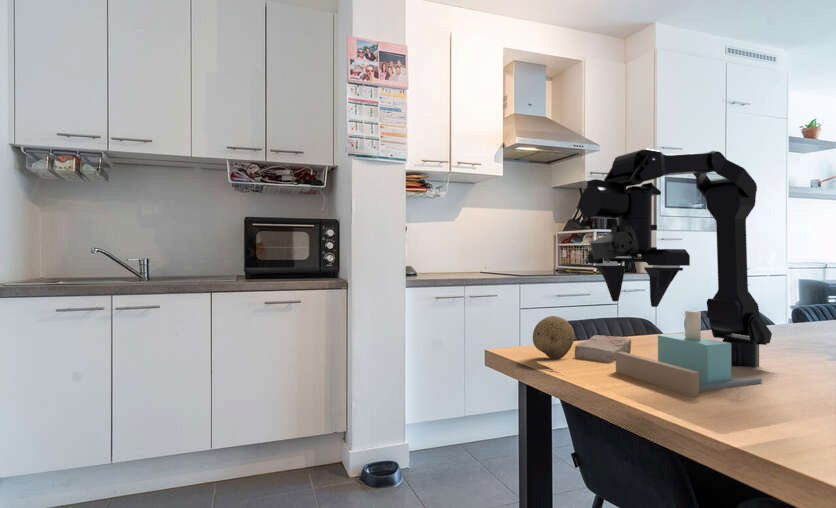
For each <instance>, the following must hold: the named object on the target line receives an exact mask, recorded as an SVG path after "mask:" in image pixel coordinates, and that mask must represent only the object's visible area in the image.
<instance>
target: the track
mask: <svg viewBox="0 0 836 508" xmlns="http://www.w3.org/2000/svg"><path fill="white" fill-rule="evenodd" d="M615 372H616V373H618V374H622V375H624V376H627V377H631V378H634V379H637V380H640V381H643V382H646V383H648V384H649V383H650V384H652V385H655V386H658V387H661V388H663V389H668V390H670V391H673V392H676V393H680V394H683V395H685V396H688V397H693V398H694V397H699V396H700V392H704V391H712V390H713V391H714V390H720V389H728V388H734V387H735V388H736V387H742V386H750V385H757V384H762V382H763V381H762V380H763V379H762V378H759V377H749V378H747V377H746V378H739V379H731V381H723V382H715V383H707V384H699V372H697V371H693V370H689V369H686V368H682V367H678V366H674V365H671V364H667V363H663V362H659V361H658V360H655V359H652V358H647V357H645V356H640V355H638V354H637V355H636V354H632V353H626V352H616V360H615Z"/></svg>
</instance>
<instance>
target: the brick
mask: <svg viewBox="0 0 836 508" xmlns="http://www.w3.org/2000/svg"><path fill="white" fill-rule="evenodd" d="M631 348H632V339H631V338H628V337H623V336H612V335H609V336H608V335H598V334H595V335H592V336H591V337H590V338H588V339H587V340H585V341H581V342H579V343H578V344H575V348H574V359H585V360H591V361H598V362H605V363H614V362H616V352H626V353H629V354H631V350H632V349H631Z"/></svg>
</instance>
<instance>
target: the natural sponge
mask: <svg viewBox="0 0 836 508" xmlns="http://www.w3.org/2000/svg"><path fill="white" fill-rule="evenodd" d="M574 341H575V331H574V328H573V326H572V325H571V324H570V322H568V320H567V319H565V318H562V317H560V316H556V315H550V316H547V317H544V318H543V319H541V320H539V321H538V323H536V325H535V327H534V329H533V332H532V344H533V345H534V348H536V349H537V351H540V352H542V353H543V354H545V356H546V357H548V359H550V360H552V361H557V360H561V359H563V357H565V356H566V355H567V354H568V352H569V351H570V350H571V348H572V346H573V344H574Z"/></svg>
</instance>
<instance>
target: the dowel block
mask: <svg viewBox="0 0 836 508" xmlns="http://www.w3.org/2000/svg"><path fill="white" fill-rule="evenodd" d="M701 313H702V312H701V311H698V310H685V311H684V333H685V334H684V333H683V334H682V333H673V334H658V335H657V361H659V362H663V363H667V364H671V365H674V366H678V367H682V368H686V369H689V370H693V371H697V372H699V384H707V383H715V382H723V381H731V380H732V366H731V343H727V342H722V340H717V339H710V338H705V337H702V335H701V332H702V330H701V327H702V325H701V324H702V321H701V317H702V314H701Z"/></svg>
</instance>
